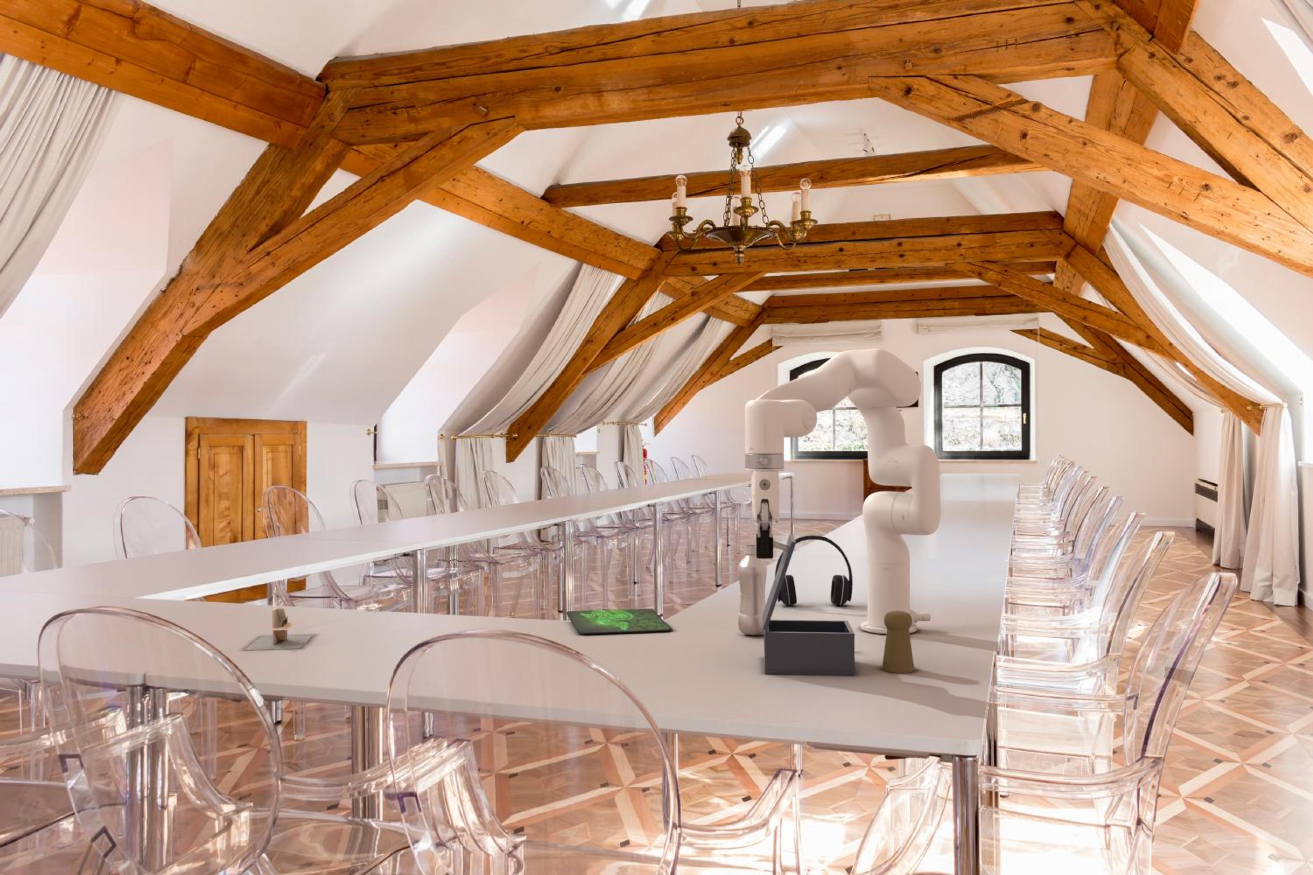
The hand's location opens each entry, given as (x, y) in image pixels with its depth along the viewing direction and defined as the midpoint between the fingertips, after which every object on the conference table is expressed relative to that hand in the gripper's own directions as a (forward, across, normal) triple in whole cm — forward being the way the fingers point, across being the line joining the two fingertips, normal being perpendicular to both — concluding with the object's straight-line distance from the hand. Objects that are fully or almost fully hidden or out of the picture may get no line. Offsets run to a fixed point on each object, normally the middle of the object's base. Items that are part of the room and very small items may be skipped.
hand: (764, 555), depth 202 cm
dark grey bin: (+21, 0, -8) cm, 23 cm away
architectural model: (+22, +15, +104) cm, 108 cm away
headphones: (+21, +73, -14) cm, 77 cm away
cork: (+21, -1, -25) cm, 33 cm away
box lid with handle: (+5, 0, -3) cm, 6 cm away
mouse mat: (+21, +44, +34) cm, 59 cm away
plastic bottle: (+21, +31, +2) cm, 38 cm away
